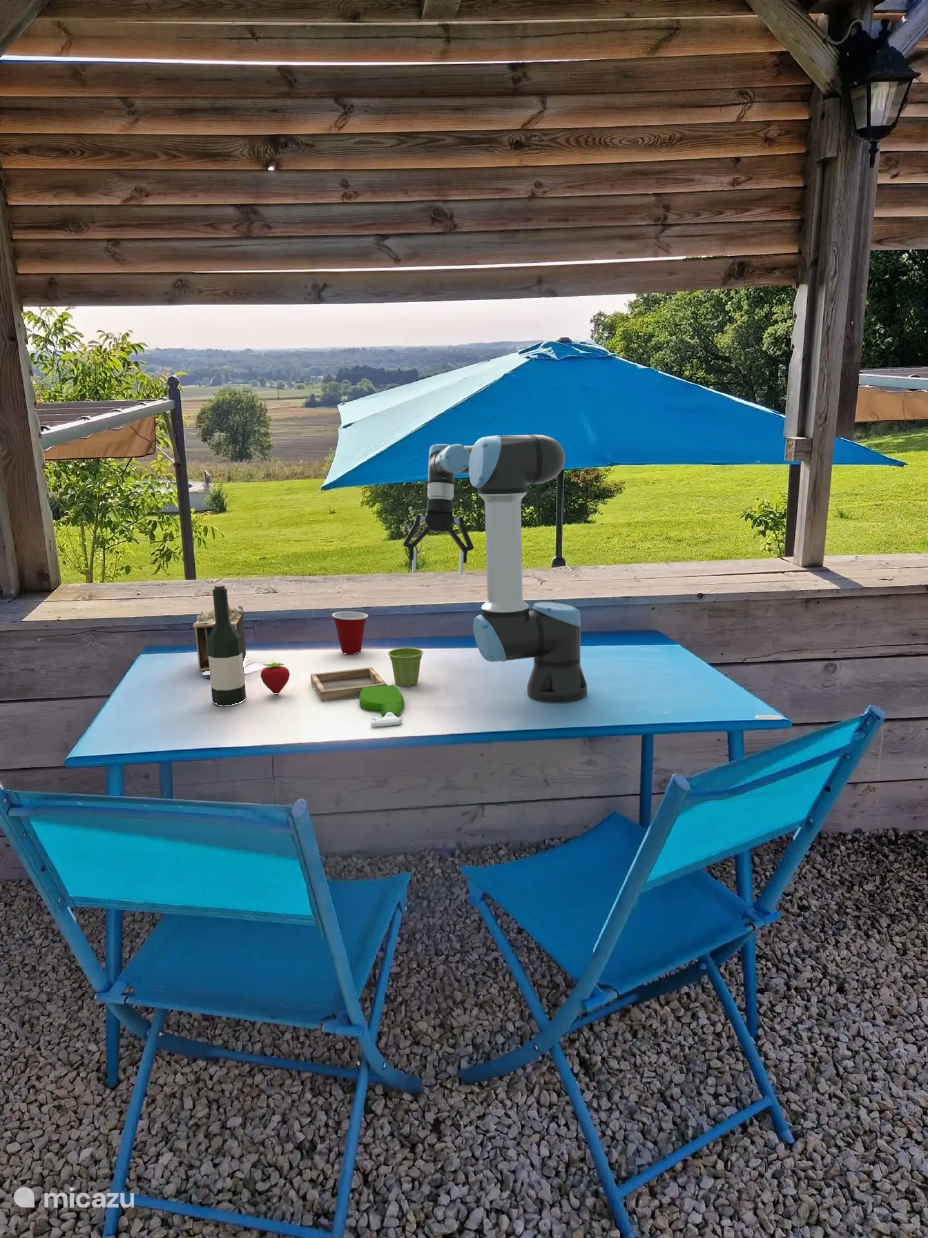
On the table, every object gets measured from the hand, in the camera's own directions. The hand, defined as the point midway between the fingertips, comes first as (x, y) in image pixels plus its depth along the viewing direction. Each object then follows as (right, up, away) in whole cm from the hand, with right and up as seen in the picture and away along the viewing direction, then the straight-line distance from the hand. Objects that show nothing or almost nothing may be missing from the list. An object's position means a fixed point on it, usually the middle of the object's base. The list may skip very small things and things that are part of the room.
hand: (437, 573), depth 255 cm
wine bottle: (-52, -34, -29) cm, 69 cm away
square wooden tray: (-23, -31, -20) cm, 44 cm away
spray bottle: (-12, -36, -38) cm, 54 cm away
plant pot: (-8, -31, -17) cm, 36 cm away
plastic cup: (-26, -23, +16) cm, 39 cm away
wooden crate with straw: (-62, -27, +3) cm, 68 cm away
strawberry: (-41, -33, -24) cm, 58 cm away
